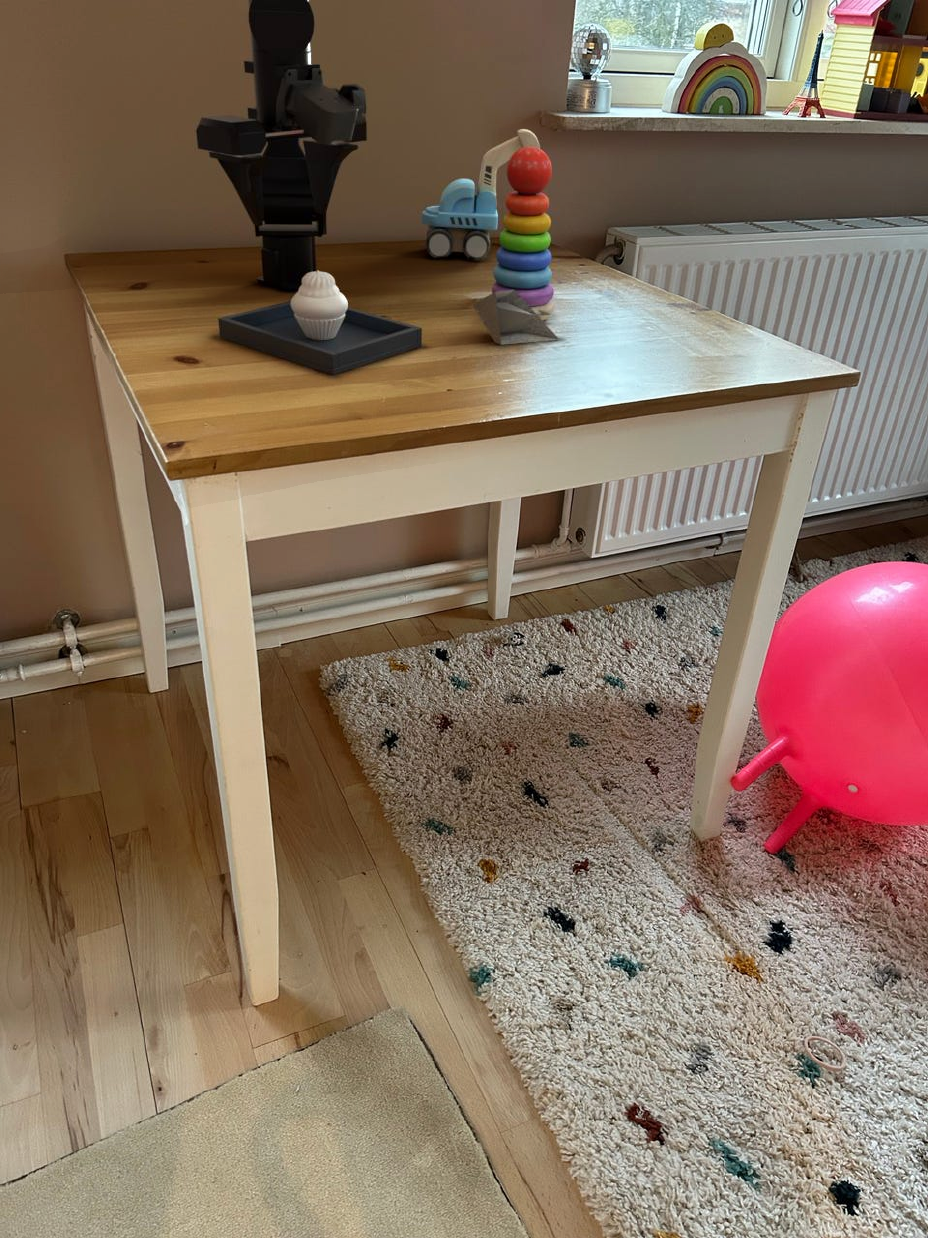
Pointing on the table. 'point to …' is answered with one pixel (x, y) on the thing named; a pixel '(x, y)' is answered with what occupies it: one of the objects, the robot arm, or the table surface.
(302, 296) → the muffin
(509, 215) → the stacking toy
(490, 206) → the toy excavator
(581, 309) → the table surface
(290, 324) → the tray
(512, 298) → the paper boat
